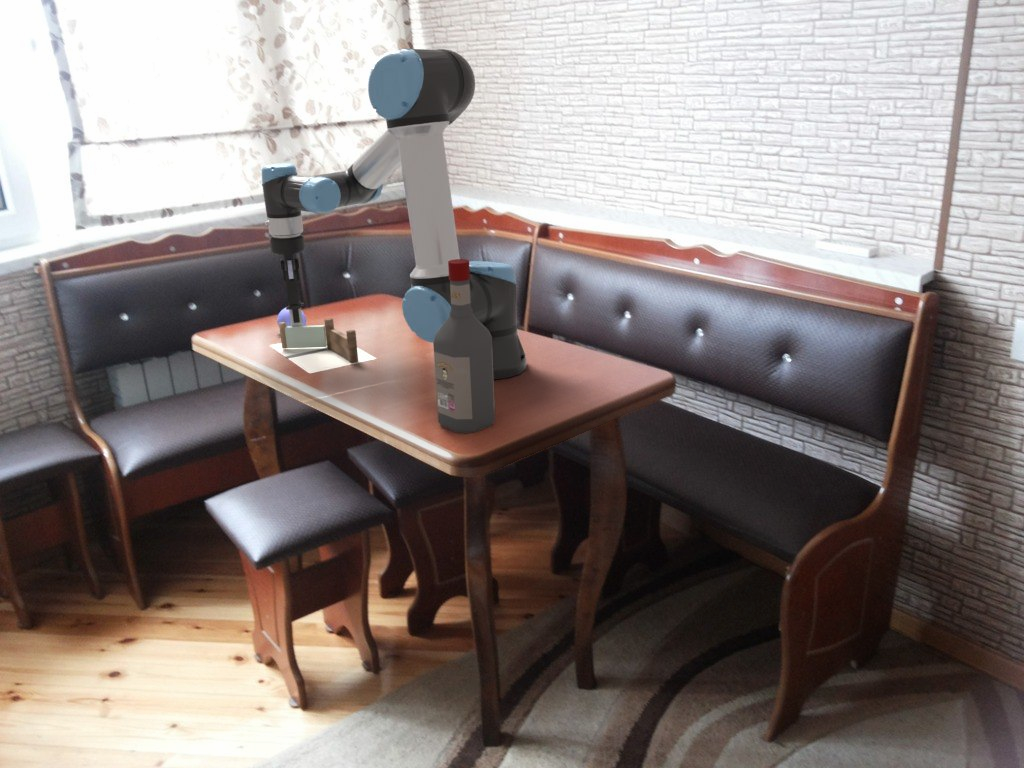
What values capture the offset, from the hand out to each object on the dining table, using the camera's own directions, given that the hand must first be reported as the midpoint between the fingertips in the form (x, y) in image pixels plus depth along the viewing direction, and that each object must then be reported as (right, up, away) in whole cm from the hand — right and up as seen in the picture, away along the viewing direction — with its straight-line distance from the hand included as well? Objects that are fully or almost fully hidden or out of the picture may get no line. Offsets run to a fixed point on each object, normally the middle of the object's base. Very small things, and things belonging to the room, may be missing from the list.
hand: (298, 334), depth 204 cm
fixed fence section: (+11, -5, -5) cm, 14 cm away
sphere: (-4, +1, +13) cm, 14 cm away
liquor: (+42, -19, -45) cm, 64 cm away
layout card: (+6, -5, -3) cm, 8 cm away
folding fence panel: (+2, -3, -1) cm, 3 cm away
